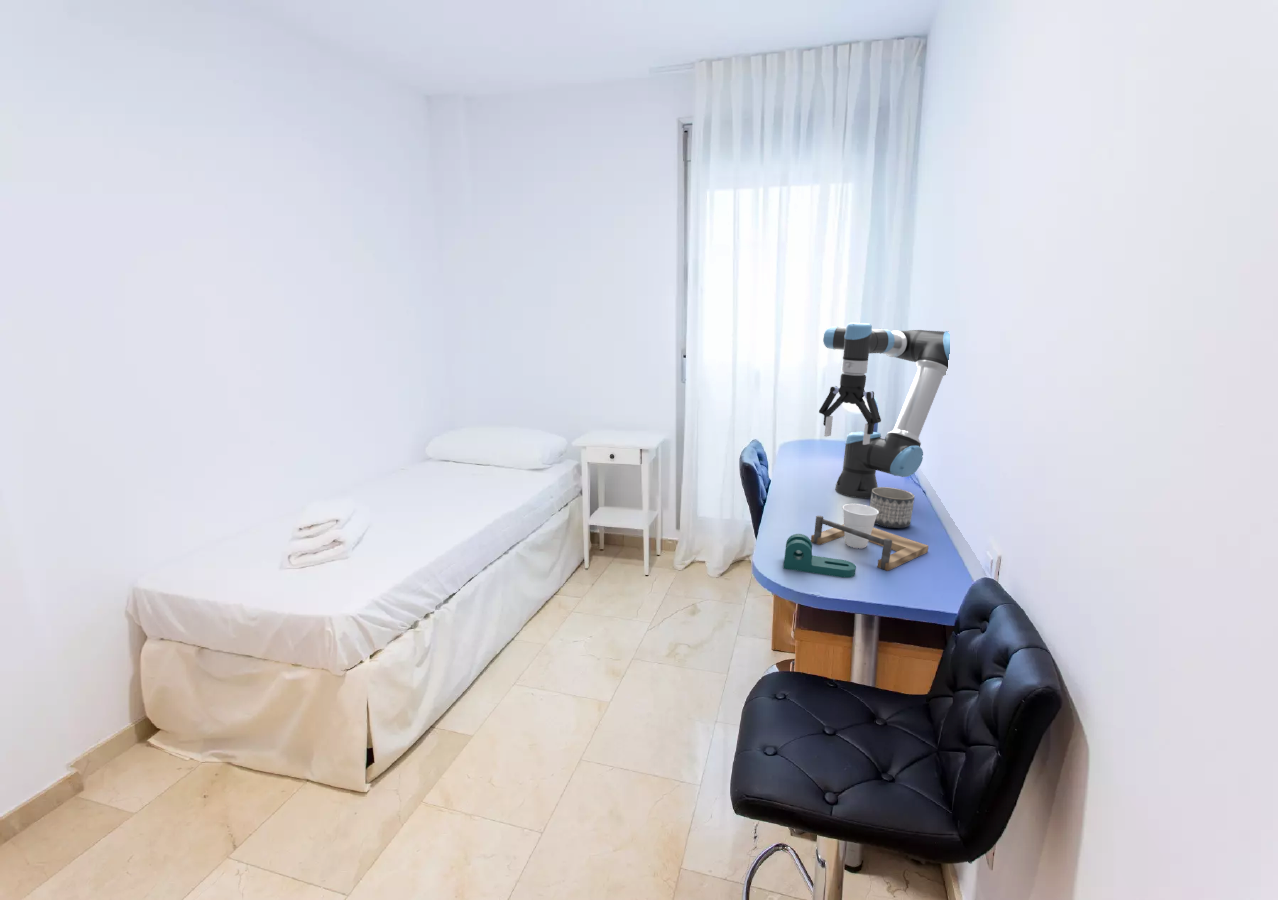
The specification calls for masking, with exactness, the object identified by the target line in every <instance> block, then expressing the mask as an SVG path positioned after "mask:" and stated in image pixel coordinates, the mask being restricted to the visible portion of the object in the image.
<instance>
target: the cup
mask: <svg viewBox="0 0 1278 900" xmlns="http://www.w3.org/2000/svg"><path fill="white" fill-rule="evenodd" d="M841 507H842V510H843V511H842V513H843V514H842V516H843V524H844V526H846V527H849V528H852V529H854V530H857V531H860V532H863V533H866V534H869V535H871V532H872V529H873V528H874V526H875V524H876V523H875V520H876V517H877V514H878V513H879V511H878V510H877V509H875V508H873V507H870V505H865V504H862V503H848V504H843V505H842V506H841ZM843 538H844V543H845V545H846V544H847V545H846V546H847V547H849V546H851V547H850V548H852V547H853V549H858V548H859V549H860V550H861V549H865V548H867V546H868V544H869V540H868V539H865V538H862V537H859V536H856V535H853V534H851V533H848V532H845V531H844V536H843ZM859 549H858V550H859Z"/></svg>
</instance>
